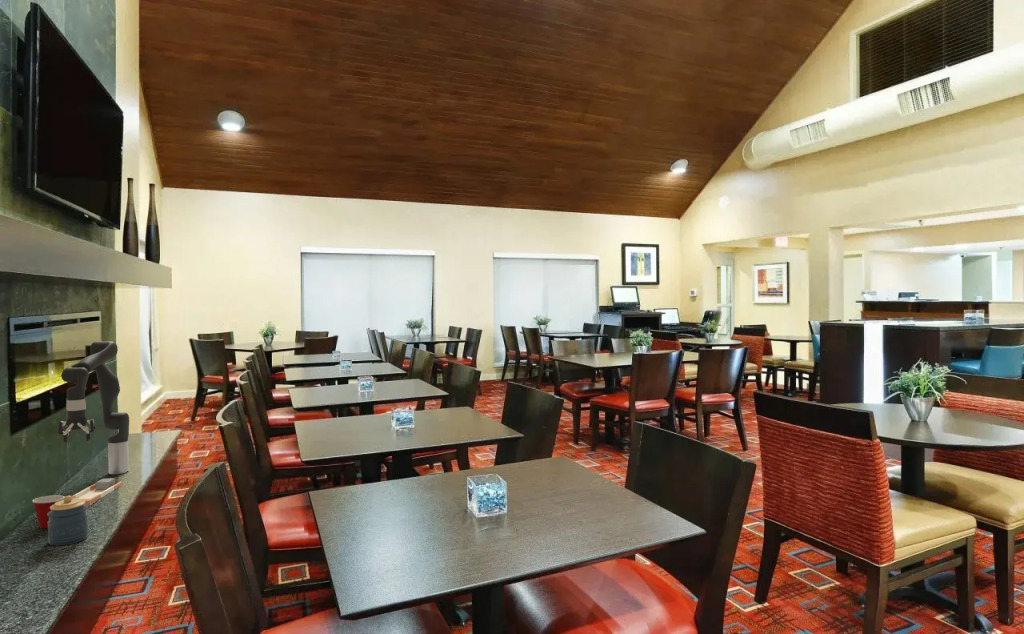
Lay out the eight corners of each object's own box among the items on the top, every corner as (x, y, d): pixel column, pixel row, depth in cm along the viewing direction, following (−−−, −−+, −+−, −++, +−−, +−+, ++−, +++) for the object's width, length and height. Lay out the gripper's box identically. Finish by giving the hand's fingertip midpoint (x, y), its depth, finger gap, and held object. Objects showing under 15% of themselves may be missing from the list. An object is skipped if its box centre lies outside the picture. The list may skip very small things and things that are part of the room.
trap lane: (97, 487, 297) (97, 482, 297) (122, 486, 299) (122, 481, 299) (61, 507, 269) (61, 501, 269) (89, 505, 270) (89, 500, 270)
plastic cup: (71, 523, 249) (70, 495, 249) (41, 532, 239) (41, 503, 239) (56, 519, 253) (55, 492, 253) (27, 528, 244) (26, 499, 243)
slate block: (102, 486, 297) (102, 478, 297) (115, 485, 298) (115, 478, 298) (95, 490, 291) (95, 482, 291) (108, 489, 292) (108, 481, 292)
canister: (65, 533, 239) (64, 490, 238) (96, 533, 238) (95, 490, 238) (39, 546, 226) (38, 501, 225) (71, 546, 225) (70, 501, 225)
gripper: (96, 406, 288) (97, 438, 289) (61, 408, 283) (62, 441, 284) (91, 409, 281) (92, 442, 282) (55, 411, 276) (56, 444, 277)
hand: (77, 441), depth 283 cm, fingers open, 8 cm apart
